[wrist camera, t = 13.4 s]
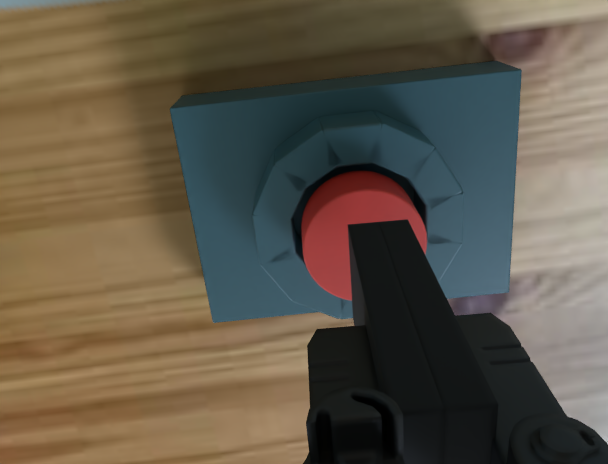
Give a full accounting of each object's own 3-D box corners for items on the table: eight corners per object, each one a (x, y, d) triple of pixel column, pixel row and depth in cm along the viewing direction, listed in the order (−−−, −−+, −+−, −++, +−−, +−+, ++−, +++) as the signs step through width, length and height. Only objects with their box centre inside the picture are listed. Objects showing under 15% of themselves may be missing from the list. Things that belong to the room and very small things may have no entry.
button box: (497, 60, 19) (547, 77, 15) (489, 265, 22) (529, 319, 19) (181, 95, 19) (156, 120, 15) (219, 293, 22) (206, 352, 19)
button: (413, 163, 17) (426, 182, 15) (416, 268, 18) (428, 295, 16) (295, 176, 17) (296, 196, 15) (307, 280, 18) (309, 308, 17)
